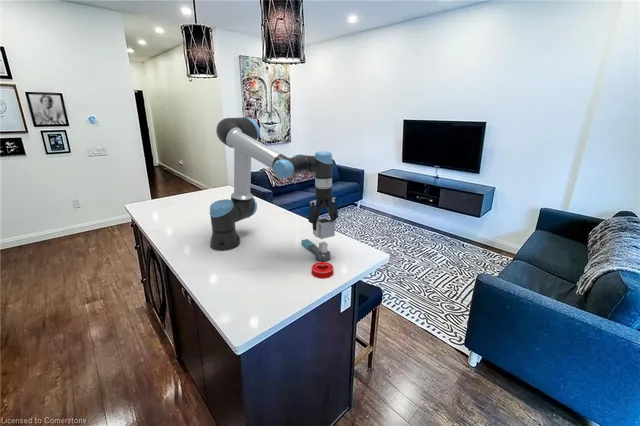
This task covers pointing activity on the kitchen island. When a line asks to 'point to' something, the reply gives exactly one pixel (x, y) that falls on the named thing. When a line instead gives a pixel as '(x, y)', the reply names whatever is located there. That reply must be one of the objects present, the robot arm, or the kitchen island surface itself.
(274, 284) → the kitchen island surface
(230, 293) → the kitchen island surface
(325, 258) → the ratchet
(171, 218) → the kitchen island surface
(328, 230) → the hollow square tube
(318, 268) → the decorative ornament
